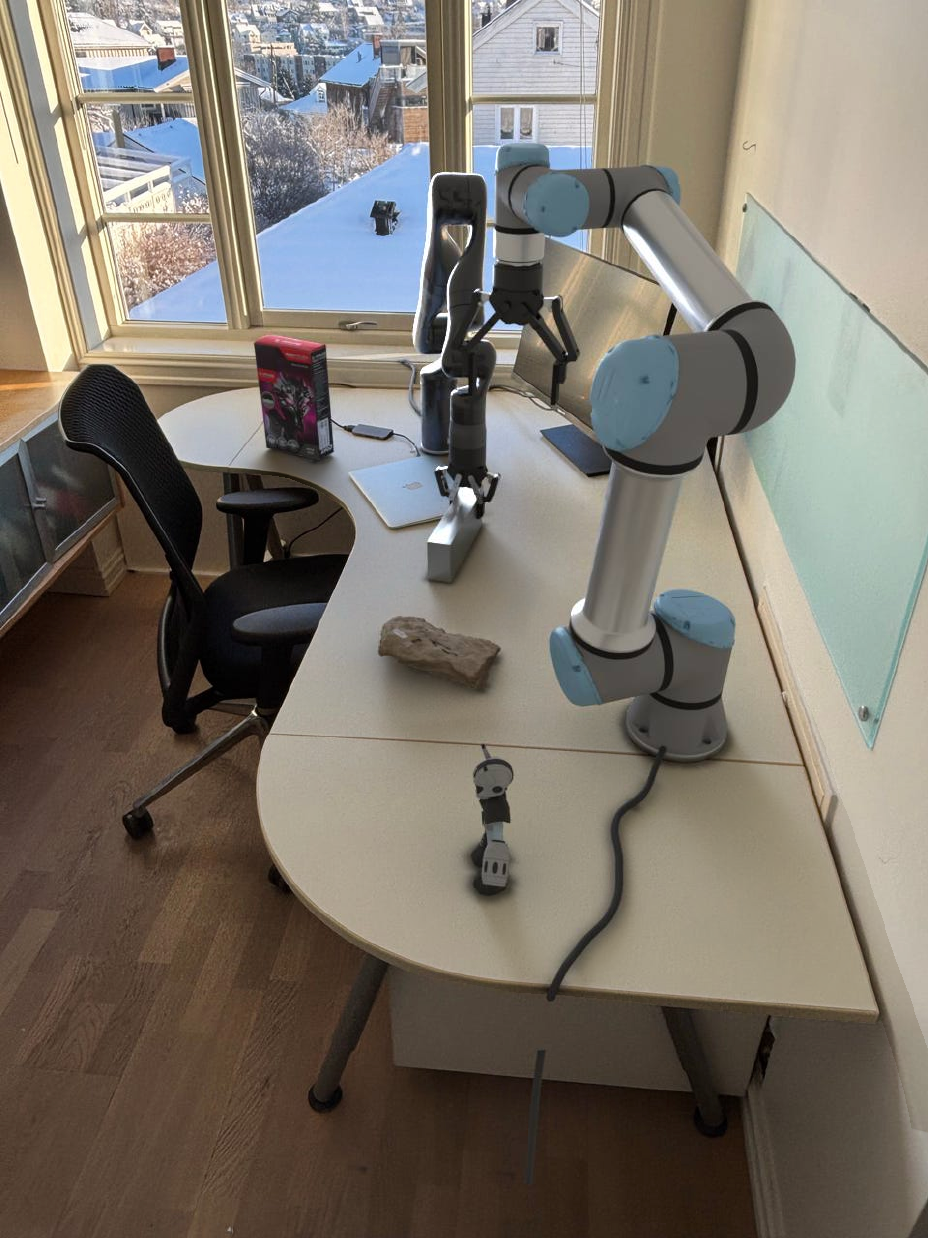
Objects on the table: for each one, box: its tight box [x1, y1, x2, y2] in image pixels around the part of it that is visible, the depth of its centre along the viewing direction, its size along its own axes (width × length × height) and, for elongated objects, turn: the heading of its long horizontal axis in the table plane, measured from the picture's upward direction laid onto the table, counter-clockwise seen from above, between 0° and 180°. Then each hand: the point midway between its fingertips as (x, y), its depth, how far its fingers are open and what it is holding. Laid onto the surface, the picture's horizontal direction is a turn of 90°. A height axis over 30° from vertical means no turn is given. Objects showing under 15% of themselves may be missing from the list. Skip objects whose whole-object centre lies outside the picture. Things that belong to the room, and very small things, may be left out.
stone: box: [377, 615, 502, 691], centre depth 155 cm, size 21×15×6 cm
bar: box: [426, 487, 483, 583], centre depth 187 cm, size 25×5×8 cm, turn 165°
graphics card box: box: [253, 333, 335, 461], centre depth 223 cm, size 17×7×27 cm, turn 62°
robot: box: [470, 743, 515, 896], centre depth 114 cm, size 20×5×20 cm, turn 3°
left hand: (466, 515), depth 194 cm, fingers closed on bar, 4 cm apart
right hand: (513, 398), depth 149 cm, fingers open, 13 cm apart
